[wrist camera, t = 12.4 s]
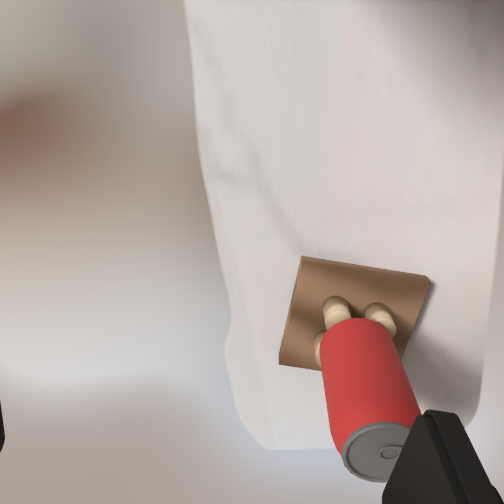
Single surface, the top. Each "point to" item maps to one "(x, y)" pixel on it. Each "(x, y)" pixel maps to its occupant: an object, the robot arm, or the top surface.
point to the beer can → (366, 397)
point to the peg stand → (347, 305)
